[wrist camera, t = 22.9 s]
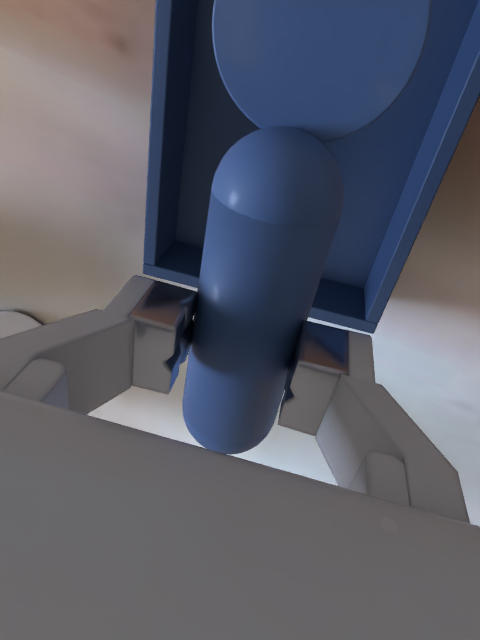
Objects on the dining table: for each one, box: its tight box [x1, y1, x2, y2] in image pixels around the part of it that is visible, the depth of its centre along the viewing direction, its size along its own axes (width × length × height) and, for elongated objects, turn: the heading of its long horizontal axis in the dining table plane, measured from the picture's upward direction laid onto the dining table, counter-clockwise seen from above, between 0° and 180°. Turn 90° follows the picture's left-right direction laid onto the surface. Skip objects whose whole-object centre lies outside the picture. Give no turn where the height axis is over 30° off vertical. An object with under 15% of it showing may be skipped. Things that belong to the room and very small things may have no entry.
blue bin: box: [143, 0, 480, 334], centre depth 18 cm, size 14×11×4 cm
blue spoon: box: [183, 0, 432, 454], centre depth 10 cm, size 4×12×3 cm, turn 170°
